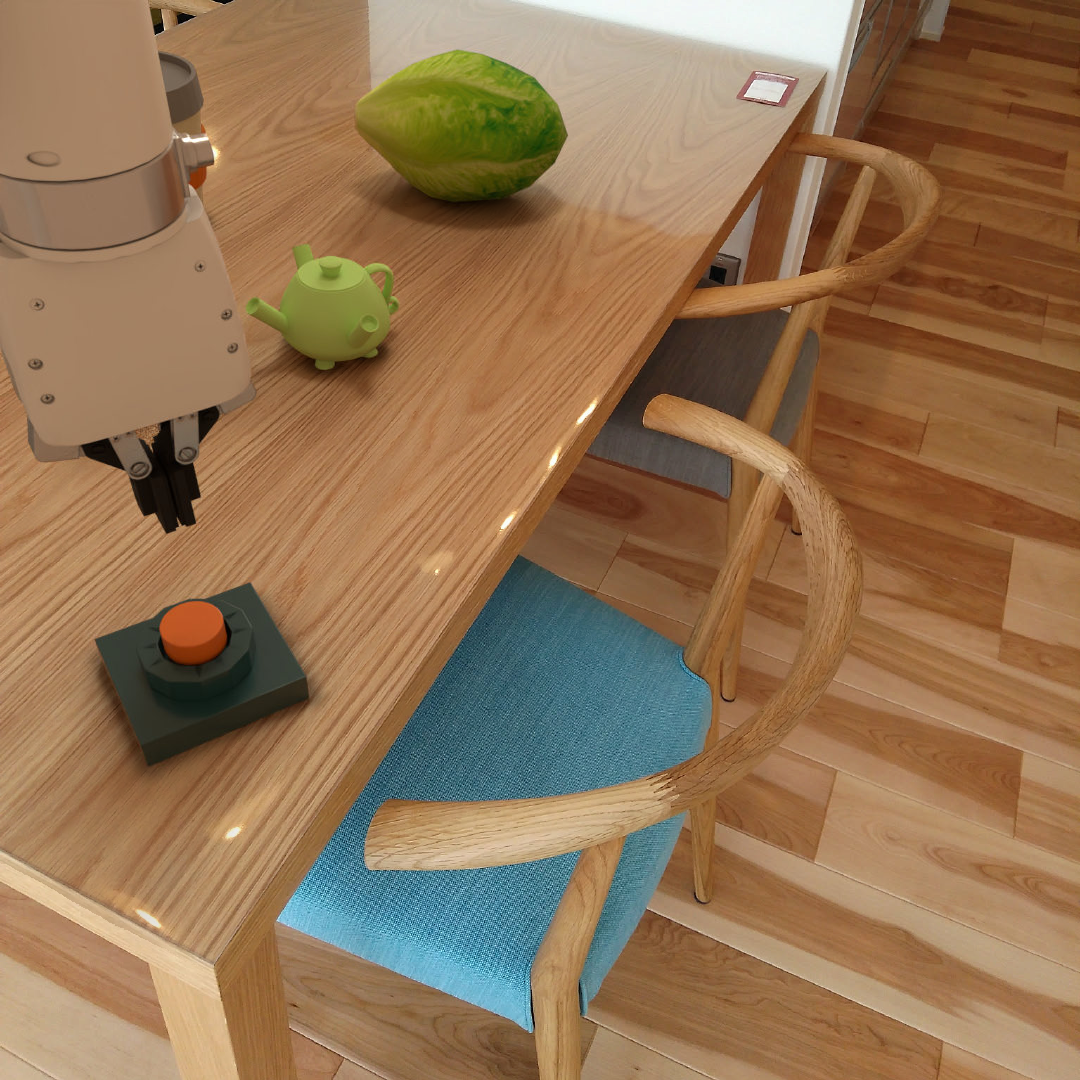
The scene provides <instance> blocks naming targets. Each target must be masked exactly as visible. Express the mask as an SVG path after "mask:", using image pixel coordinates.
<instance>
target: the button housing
mask: <svg viewBox="0 0 1080 1080" xmlns="http://www.w3.org/2000/svg"><path fill="white" fill-rule="evenodd" d="M193 601H201V602H206V603H209V604H212V605H214V606H215V607H216V608H218V609H219V610H220V612H221V613H222V616H223V620H224V625H225V629H226V634H227V642H226V645H225V647H224V649H223V651H222V652H221V653H220V654H219V655H218V656H217V657H216V658H214V659H212V660H211V661H209V662H206V663H203V664H200V665H182V664H179V663H176V662H174V661H173V660H172V659H170V658H169V657H168V655H167V654H166V652H165V649H164V645H163V642H162V638H161V634H160V623H161V621H162V619H163V617H164V616H165V614H166V613H167V612H168V611H170V610H171V609H172V608H174V607H176V606H178V605H180V604H183V603H187V602H193ZM94 642H95V645H96V648H97V650H98V653H99V656H100V659H101V662H102V665H103V666H104V669H105V671H106V673H107V676H108V678H109V680H110V683H111V685H112V687H113V690H114V692H115V694H116V697H117V699H118V701H119V704H120V706H121V709H122V711H123V713H124V715H125V718H126V720H127V722H128V724H129V727H130V729H131V731H132V734H133V736H134V738H135V740H136V743H137V745H138V748H139V750H140V752H141V755H142V757H143V759H144V762H145V763H146V766H147V767H148V768H149V767H152V766H155V765H156V764H157V765H158V764H159V763H161V762H163V761H166V760H168V759H172V757H176V756H178V755H180V754H182V753H185V752H188V751H190V750H191V749H194V748H196V747H200V746H201V745H203V744H206V743H208V742H211V741H213V740H215V739H218V738H220V737H222V736H224V735H227V734H229V733H231V732H234V731H237V730H239V729H241V728H243V727H245V726H248V725H250V724H252V723H256V722H257V721H259V720H262V719H264V718H267V717H269V716H271V715H274V714H276V713H278V712H281V711H283V710H285V709H288V708H290V707H292V706H295V705H297V704H299V703H302V702H304V701H307V700H308V699H310V691H309V684H308V676H307V674H306V673H305V671H304V669H303V667H302V666H301V665H300V662H299V661H298V659H297V657H296V656H295V654H294V653H293V651H292V649H291V647H290V645H289V644H288V643H287V640H286V639H285V638H284V636H283V634H282V633H281V631H280V629H279V627H278V626H277V623H276V622H275V621H274V619H273V617H272V615H271V614H270V612H269V610H268V609H267V606H265V604H264V602H263V600H262V598H261V597H260V596H259V593H258V592H257V590H256V589H255V587H254V585H253V584H252V582H251V581H249V582H247V583H244V584H241V585H239V586H235V587H233V588H230V589H228V590H225V591H223V592H222V591H221V592H219V593H217V594H214V595H211V596H209V597H206V598H191V597H190V598H188V599H185V600H182V601H179V602H177V603H174V604H170V605H168V606H165V607H163V608H162V609H161V610H159V612H157V613H156V614H155V615H154V616H153V617H151V618H148V619H146V620H143V621H140V622H137V623H135V624H132V625H128V626H126V627H124V628H121V629H118V630H116V631H113V632H110V633H107V634H105V635H102V636H99V637H96V638H94Z"/></svg>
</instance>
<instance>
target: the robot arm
mask: <svg viewBox="0 0 1080 1080" xmlns="http://www.w3.org/2000/svg"><path fill="white" fill-rule="evenodd" d="M152 19H153V18H152V14H151V8H150V3H149V0H0V352H1V355H2V358H3V361H4V364H5V368H6V371H7V374H8V376H9V379H10V382H11V384H12V387H13V390H14V392H15V395H16V397H17V398H18V400H19V402H20V403H21V404H22V405H23V408H24V410H25V413H26V421H27V423H26V424H27V425H26V426H27V442H28V445H29V447H30V449H31V451H32V454H33V456H34V459H36V460H37V462H39V463H54V462H63V461H73V460H80V458H84V457H87V458H88V459H90V460H93V461H94V462H95V461H96V462H99V463H102V464H104V465H107V466H109V467H112V468H116V469H118V470H121V471H124V472H125V473H126V474H127V476H128V479H129V482H130V486H131V489H132V492H133V497H134V499H135V501H136V504H137V506H138V508H139V511H140V513H141V514H142V516H143V518H144V517H148V516H151V515H155V516H156V518H157V520H158V521H159V524H160V525H161V528H162V529H163V531H164V533H165V534H166V535H168V534H172V533H173V532H176V531H177V529H178V528H180V526H181V527H183V526H185V527H186V528H188V527H191V526H194V525H196V524H197V519H196V516H195V512H194V507H193V503H192V502H193V501H195V500H198V499H201V498H202V495H201V489H200V487H199V486H200V485H199V482H198V477H197V473H196V469H195V464H194V462H196V460H198V459H199V456H200V445H201V443H202V442H203V440H205V438H206V437H207V435H208V434H209V432H210V431H211V430H212V429H213V427H214V426H215V424H216V423H217V422H218V420H219V418H220V416H222V415H224V416H225V415H228V414H230V413H231V412H233V411H235V410H237V409H239V408H240V407H241V408H242V407H243V406H245V405H247V404H248V403H250V402H252V401H253V400H255V398H256V396H257V390H256V386H255V385H254V382H253V381H252V380H251V377H252V375H251V374H252V369H251V359H250V353H249V347H248V343H247V339H246V334H245V330H244V326H243V322H242V317H241V315H240V310H239V307H238V304H237V300H236V297H235V293H234V290H233V286H232V283H231V279H230V276H229V273H228V270H227V266H226V262H225V259H224V256H223V253H222V251H221V248H220V244H219V241H218V239H217V236H216V234H215V230H214V228H213V226H212V224H211V220H210V218H209V216H208V213H207V211H206V209H205V207H204V203H203V204H202V202H201V200H200V198H199V197H198V195H197V193H196V191H195V190H194V188H193V187H192V186H191V185H189V184H188V182H190V176H191V173H196V172H198V168H202V167H211V166H212V167H213V166H214V165H215V154H214V150H213V147H212V143H211V141H210V139H209V137H208V135H207V133H206V134H205V133H201V134H196V135H190V136H189V135H188V134H187V133H181V134H179V133H178V132H177V131H176V130H175V129H174V127H172V123H171V118H170V112H169V107H168V102H167V97H166V92H165V86H164V81H163V76H162V71H161V65H160V60H159V55H158V51H159V50H158V46H157V39H156V35H155V29H154V24H153V20H152ZM153 425H156V426H157V431H158V433H157V434H156V435H153V436H152V439H153V442H151V443H150V445H149V444H148V443H146V441H145V439H142V438H140V437H138V435H137V432H136V430H139V429H144V428H147V427H150V426H153Z"/></svg>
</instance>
